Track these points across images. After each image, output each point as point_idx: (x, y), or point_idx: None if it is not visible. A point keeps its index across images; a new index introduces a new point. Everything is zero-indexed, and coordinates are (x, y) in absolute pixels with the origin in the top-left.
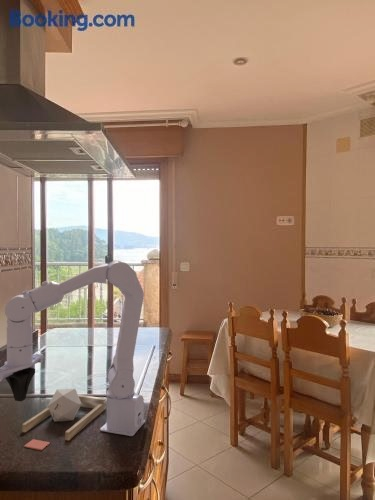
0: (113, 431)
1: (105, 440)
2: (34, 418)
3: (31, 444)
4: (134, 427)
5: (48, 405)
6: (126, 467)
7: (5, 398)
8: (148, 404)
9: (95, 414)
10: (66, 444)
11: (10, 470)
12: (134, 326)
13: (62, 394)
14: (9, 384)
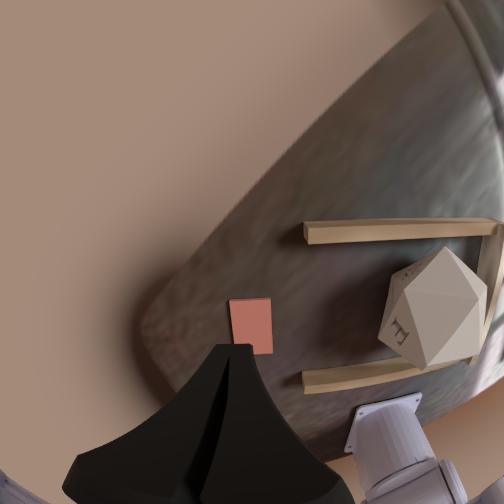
0: (352, 430)
1: (323, 428)
2: (360, 239)
3: (244, 315)
4: (354, 459)
5: (405, 294)
6: None
7: (442, 8)
8: (466, 400)
9: None
10: (284, 383)
11: (142, 337)
12: None
13: (435, 358)
14: (149, 420)
